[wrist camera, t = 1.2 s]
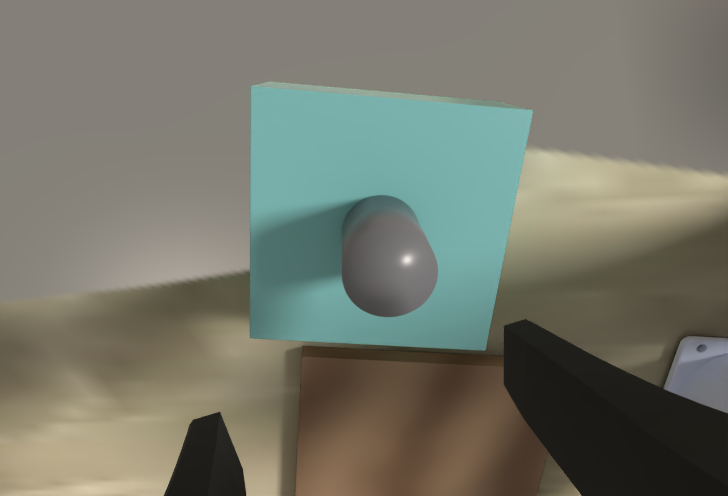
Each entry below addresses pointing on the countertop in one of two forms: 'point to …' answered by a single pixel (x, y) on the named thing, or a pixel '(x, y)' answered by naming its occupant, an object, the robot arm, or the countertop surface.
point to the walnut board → (411, 426)
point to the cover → (379, 214)
